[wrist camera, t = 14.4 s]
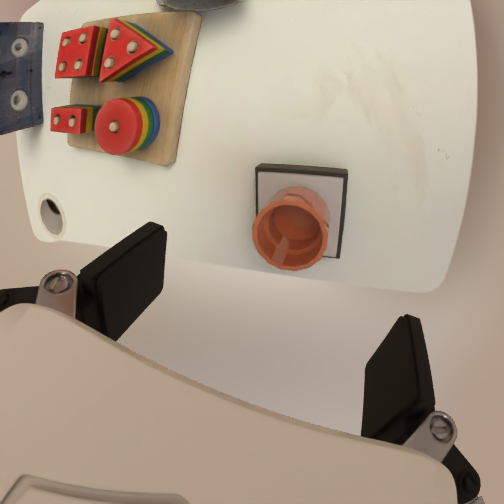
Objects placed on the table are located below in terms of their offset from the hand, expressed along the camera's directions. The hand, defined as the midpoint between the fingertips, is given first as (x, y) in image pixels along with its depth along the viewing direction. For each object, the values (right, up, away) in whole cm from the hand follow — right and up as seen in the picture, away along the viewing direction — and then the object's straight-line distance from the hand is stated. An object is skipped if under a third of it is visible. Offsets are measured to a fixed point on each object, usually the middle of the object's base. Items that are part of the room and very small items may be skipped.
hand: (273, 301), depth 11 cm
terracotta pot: (+4, +5, +17) cm, 18 cm away
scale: (+4, +6, +19) cm, 21 cm away
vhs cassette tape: (-34, +30, +20) cm, 50 cm away
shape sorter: (-16, +22, +18) cm, 32 cm away
